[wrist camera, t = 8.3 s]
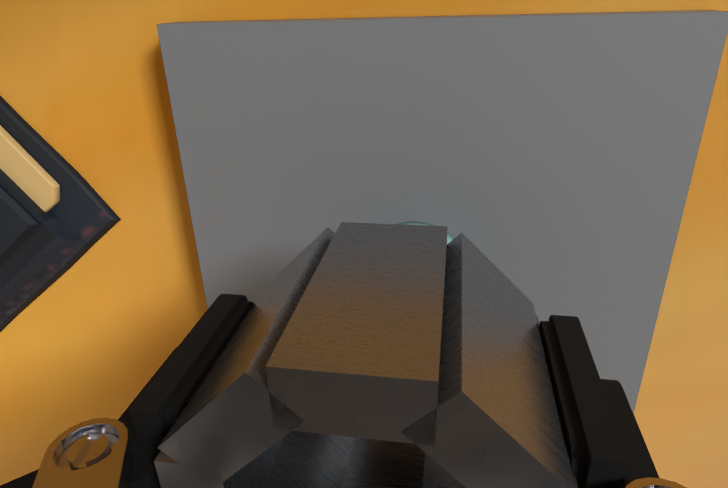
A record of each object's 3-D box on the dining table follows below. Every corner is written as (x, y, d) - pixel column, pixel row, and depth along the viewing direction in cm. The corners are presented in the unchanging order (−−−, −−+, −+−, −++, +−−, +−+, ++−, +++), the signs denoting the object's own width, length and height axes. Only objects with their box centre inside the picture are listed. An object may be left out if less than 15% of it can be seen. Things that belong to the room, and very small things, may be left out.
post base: (710, 9, 13) (919, 26, 7) (611, 439, 19) (678, 645, 13) (178, 22, 15) (-7, 42, 9) (239, 400, 21) (151, 560, 15)
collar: (549, 230, 11) (608, 396, 6) (518, 458, 14) (546, 687, 9) (251, 218, 12) (125, 354, 7) (278, 433, 15) (198, 627, 10)
